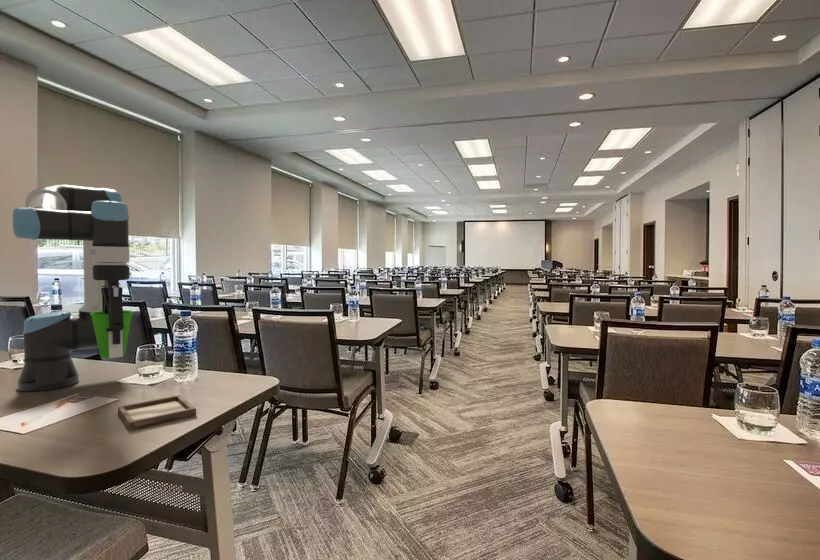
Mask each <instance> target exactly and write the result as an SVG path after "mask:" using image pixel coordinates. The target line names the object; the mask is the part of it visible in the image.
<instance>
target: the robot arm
mask: <svg viewBox="0 0 820 560" xmlns="http://www.w3.org/2000/svg"><path fill="white" fill-rule="evenodd" d="M24 203H25V204H24V205H25V207H15V208H14V209H13V210H12V229H13V231H12V232H13V235H14V236H15V238H18V239H27V240H28V239H29V240H54V241H55V240H57V241H58V240H61V241H62V240H63V241H64V240H65V241H81V242H82V243H83V244H82V248H83V249H82V250H83V251H82V252H83V288H84V290H83V291H84V293H83V294H84V296H83V298H84V302H83V305H82V306H81V307H80V308H79V309H78V314H73V315H72V312H71V311H69V310H63V311H62V310H61V311H59V310H58V311H53V312H45V313H41V314H40V313H39V314H36V315H32V316H29V317H28V318H26V319H25V320H24V321H23V331H22V334H23V349H24V351H23V352H24V353H23V355H24V365H23V367H22V369H21V372H20V375H19V378H18V381H17V391H20V392H21V391H22V392H44V391H51V390H56V389H57V390H58V389H61V388H67V387H69V386H72V385H75V384H77V383H78V382H79V380H80V375H79V372H78V370H77V367H76V366H75V363H74V361H73V357H72V351H78V350H81V351H82V350H88V349H98V344H97V339H96V335H95V330H94V325H93V321H92V316H91V315H89V314H90V313H92V312H98V311H104V313H105V314H109V327H110V328H106V332H108V331H109V358H108V359H115V358H122V357H124V355H123V336H122V329H123V328H124V323H123V310H124V307H123V287H120V281H128V280H129V279H130V266H129V264H128V263H130V245H129V233H130V232H129V226H130V225H129V219H130V215H129V207H128V205H127V204H126V203H125V202H123V199H122V196H121V194H120V192H118V191H117V190H115V189H111V188H105V187H92V186H83V185H82V186H81V185H70V184H52V185H51V184H50V185H46V186H41V187H39V188H36V189H34V190H32V191H31V192H29V194H28V195H27V196H26V198H25V202H24Z"/></svg>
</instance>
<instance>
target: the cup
mask: <svg viewBox="0 0 820 560" xmlns="http://www.w3.org/2000/svg"><path fill="white" fill-rule="evenodd" d="M133 313H134V310H131V309H130V310H129V309H123V323H124V328H123V329H122V336H123V356H125V354H126V351H127V345H128V340H129V339H128V338H129V333H130V329H131V327H130V326H131V321H132V314H133ZM89 315H91V316H92V321H93V325H94V330H95V335H96V339H97V344H98V348H97V349H98V353H99V356H100V358H103V359H110V358H109V331H108V332H106V328H110V327H109V314H105V313H104V311H98V312H92V313H90V314H89Z"/></svg>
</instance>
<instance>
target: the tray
mask: <svg viewBox="0 0 820 560" xmlns="http://www.w3.org/2000/svg"><path fill="white" fill-rule="evenodd" d="M117 415H118V416H119V417H120V419H121V420H122V422H123V423H124V425H125V426H126V428H127V429H128V430H129V431H130V432H131V431H135V430H140V429H144V428H149V427H154V426H159V425H161V424H166V423H171V422H175V421H180V420H184V419H189V418H192V417H197V407H195V406H194V405H192V404H191V403H190V402H189V401H188V400H187V399H185V398H184V397H183V396H182V395H180V394H177V395H172V396H167V397H160V398H156V399H150V400H145V401H140V402H135V403H134V402H133V403H130V404H129V403H128V404H124V405H119V406H117Z"/></svg>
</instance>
